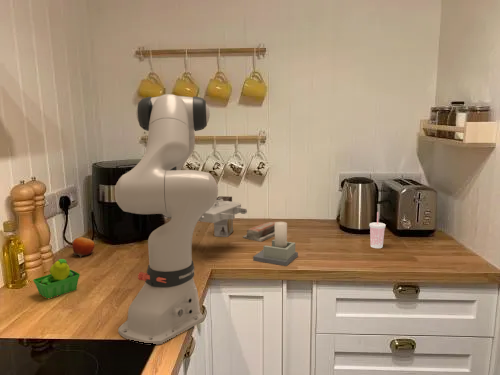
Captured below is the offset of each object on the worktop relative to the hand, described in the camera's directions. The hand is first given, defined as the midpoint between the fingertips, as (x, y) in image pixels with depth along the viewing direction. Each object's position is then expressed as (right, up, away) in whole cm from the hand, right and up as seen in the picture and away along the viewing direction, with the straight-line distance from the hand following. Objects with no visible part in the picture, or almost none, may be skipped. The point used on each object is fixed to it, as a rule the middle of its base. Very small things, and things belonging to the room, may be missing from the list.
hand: (240, 213), depth 156 cm
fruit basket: (-54, -23, -27) cm, 65 cm away
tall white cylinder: (+15, -15, -2) cm, 21 cm away
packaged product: (+10, -12, +29) cm, 32 cm away
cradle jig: (+13, -16, -1) cm, 21 cm away
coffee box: (-8, -11, +31) cm, 34 cm away
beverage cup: (+54, -14, +11) cm, 56 cm away
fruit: (-60, -16, +7) cm, 63 cm away
